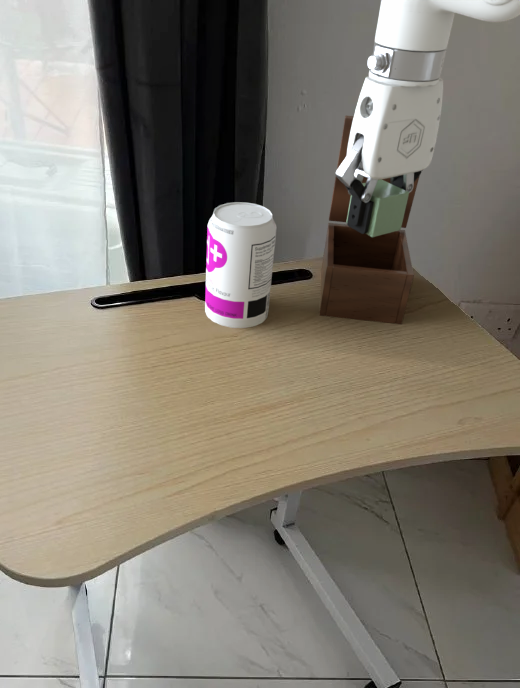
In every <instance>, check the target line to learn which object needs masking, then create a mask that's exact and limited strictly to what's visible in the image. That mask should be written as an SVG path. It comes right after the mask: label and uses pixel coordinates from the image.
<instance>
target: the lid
mask: <svg viewBox="0 0 520 688" xmlns="http://www.w3.org/2000/svg"><path fill="white" fill-rule="evenodd" d="M353 118H354V115H345V116H344V120H343V126H342V127H343V128H342V132H341V139H340V146H339V151H338V158H337V165H336V170H335V172H336V171H337V169H338V168H339V166H340V165H341V163H342V162H343V160H344V159H345V157H346V156H347V148H348V142H349V136H350V131H351V127H352V122H353ZM355 170H356V169H355ZM354 173H355V171H354ZM420 176H421V175H420ZM420 176H419V177H418V178H417V179H416V180H415V182H414V186H413V189H412V191H411V192H410V193H409V195H408V200H407V204H406V208H405V213H404V217H403V222H402V226H401V229H406V228H407V226H408V222H409V218H410V215H411V211H412V207H413V203H414V200H415V195H416V193H417V188H418V185H419V180H420ZM367 179H368V178H366V177H364V178H363V180H362V183H366V182H367ZM380 180H381V179H380ZM382 180H384V181H386V182H388V183H390V178H386V179H382ZM350 198H351V195H349V194H348V190H347V188H346V187H345V185H344V183H342V182H341V181H340V180H339V179H338V178H337V177H336V176H335V177H334V183H333V190H332V196H331V202H330V209H329V214H328V221H329V222H337V223H346V221H347V215H348V210H349V204H350Z"/></svg>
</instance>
